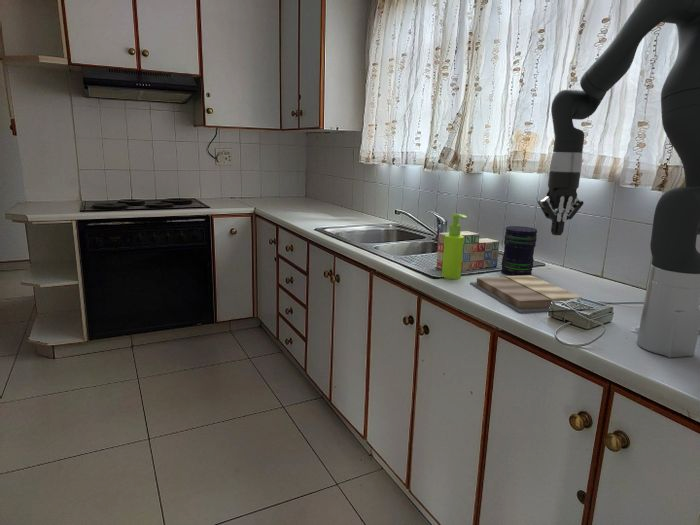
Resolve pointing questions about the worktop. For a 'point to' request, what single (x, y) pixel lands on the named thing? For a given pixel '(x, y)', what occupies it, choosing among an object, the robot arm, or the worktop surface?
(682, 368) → the worktop surface
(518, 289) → the walnut plank
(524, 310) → the underlay mat
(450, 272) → the soap dispenser
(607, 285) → the worktop surface
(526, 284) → the oak plank
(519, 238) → the storage jar
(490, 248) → the stack of blocks
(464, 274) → the worktop surface
